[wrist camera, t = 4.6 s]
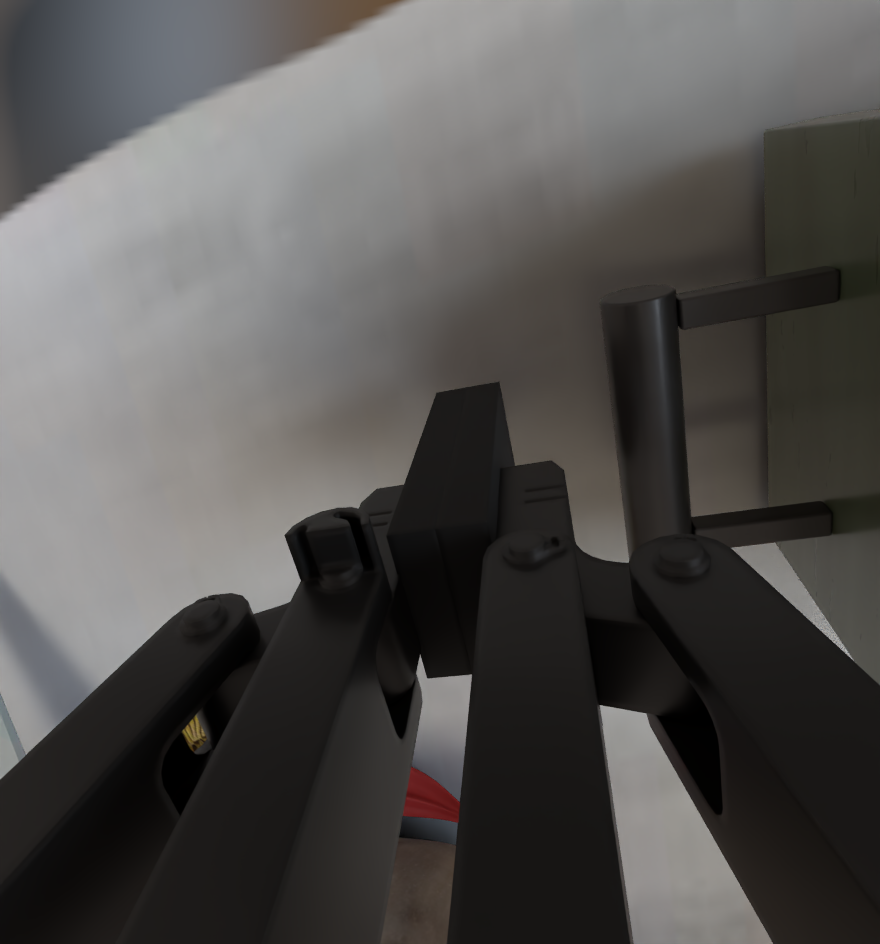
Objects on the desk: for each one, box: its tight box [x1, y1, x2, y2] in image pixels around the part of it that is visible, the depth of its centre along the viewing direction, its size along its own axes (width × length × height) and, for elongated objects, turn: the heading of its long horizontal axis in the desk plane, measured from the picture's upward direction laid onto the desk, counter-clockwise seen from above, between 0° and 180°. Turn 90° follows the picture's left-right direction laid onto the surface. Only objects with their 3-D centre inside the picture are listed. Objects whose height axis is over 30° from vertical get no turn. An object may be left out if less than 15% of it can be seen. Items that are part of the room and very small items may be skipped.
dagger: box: [0, 694, 26, 779], centre depth 22 cm, size 12×3×30 cm
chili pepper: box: [403, 767, 460, 823], centre depth 24 cm, size 12×5×2 cm
